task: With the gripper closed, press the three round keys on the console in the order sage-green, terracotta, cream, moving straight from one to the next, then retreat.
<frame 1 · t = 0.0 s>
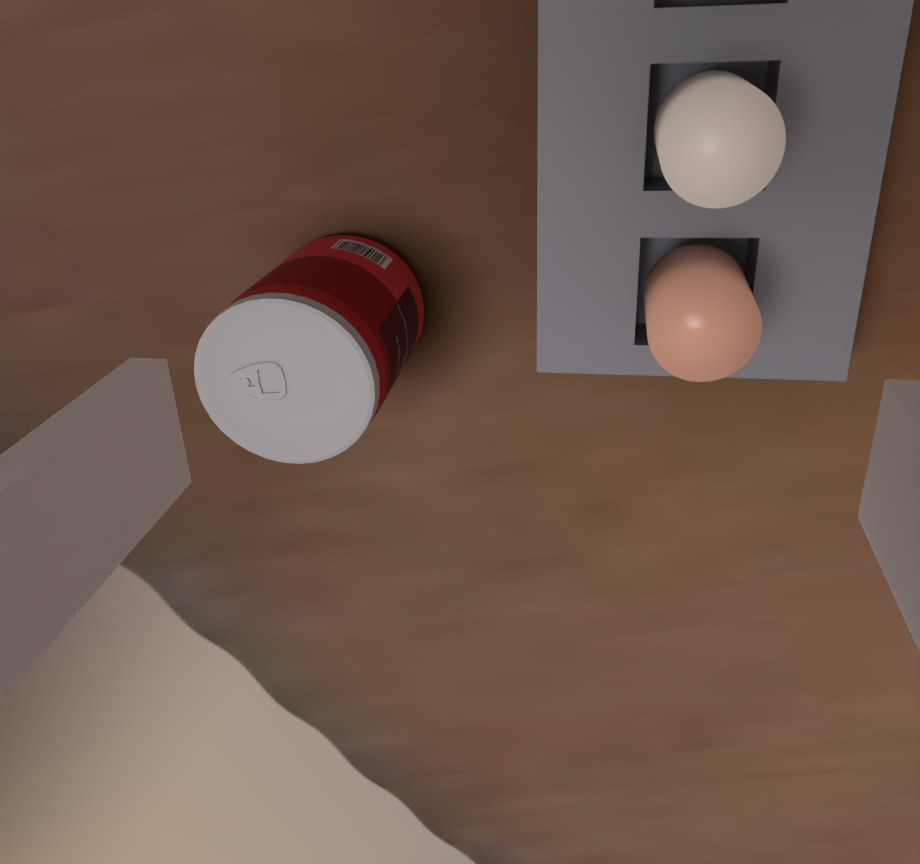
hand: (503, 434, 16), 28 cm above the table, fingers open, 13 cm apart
button terracotta: (698, 310, 36), point 6 cm above the table, slide at 0.0 cm
console: (700, 116, 39), on the table
button cream: (714, 136, 33), point 6 cm above the table, slide at 0.0 cm
canned food: (354, 301, 46), on the table
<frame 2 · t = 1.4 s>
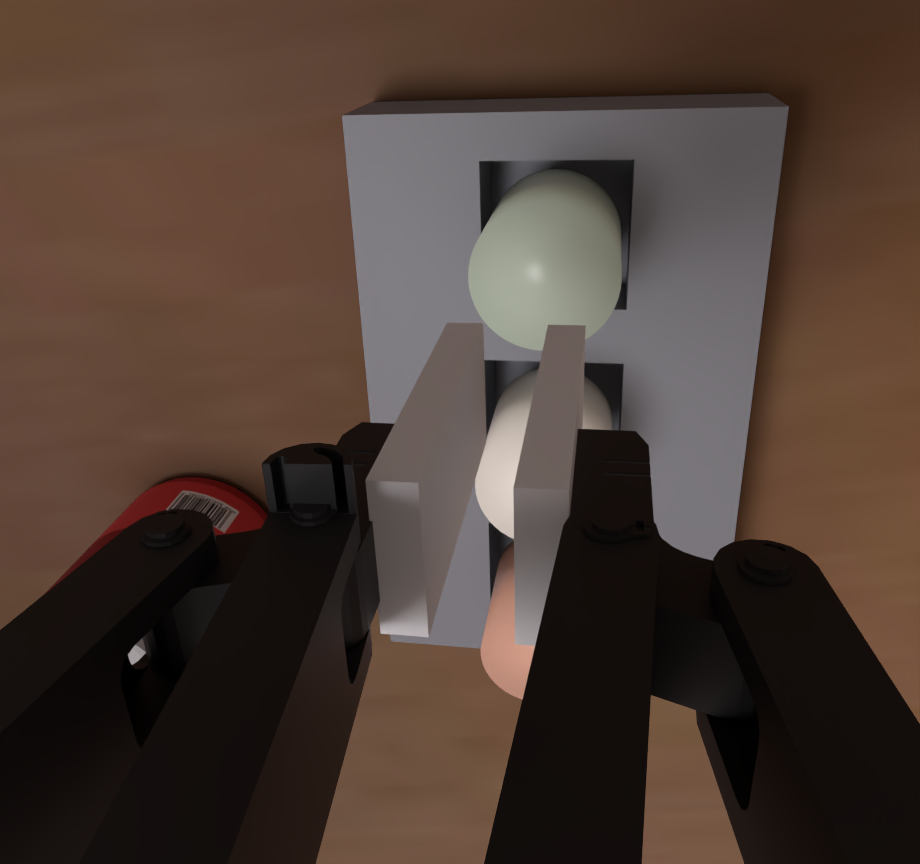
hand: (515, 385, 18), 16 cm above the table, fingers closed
button terracotta: (546, 613, 33), point 6 cm above the table, slide at 0.0 cm
console: (558, 381, 36), on the table
button cream: (547, 453, 30), point 6 cm above the table, slide at 0.0 cm
button sage: (549, 255, 27), point 6 cm above the table, slide at 0.0 cm
canned food: (210, 536, 43), on the table
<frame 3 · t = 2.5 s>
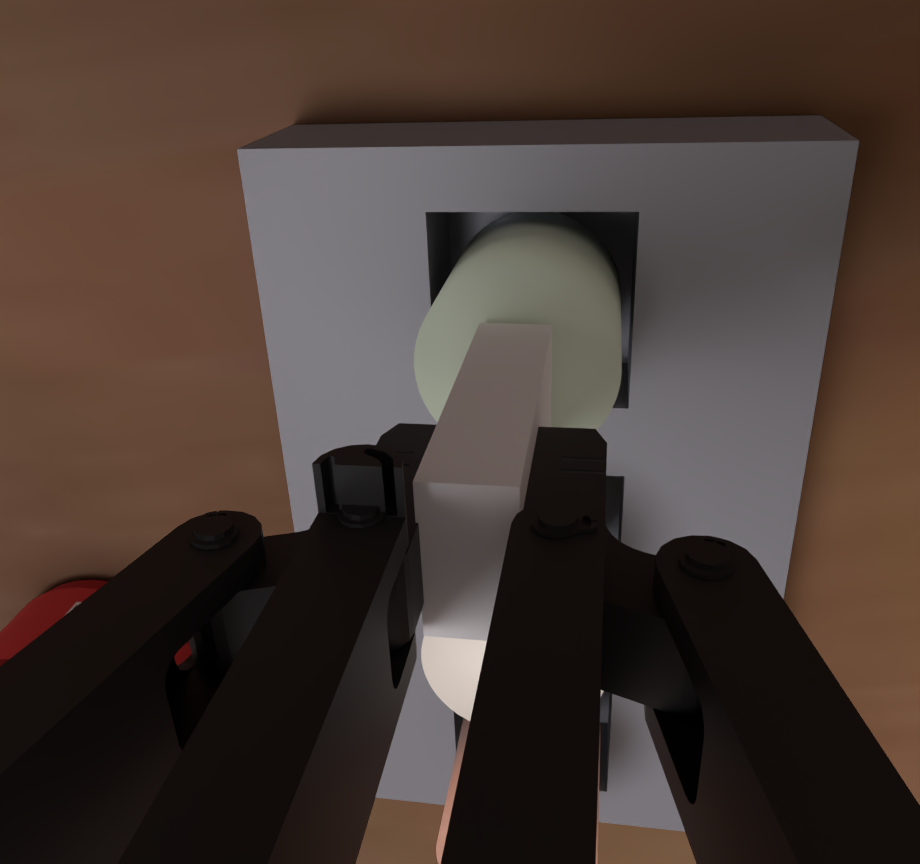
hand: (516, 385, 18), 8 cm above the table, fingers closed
button terracotta: (524, 787, 26), point 6 cm above the table, slide at 0.0 cm
console: (541, 477, 28), on the table
button cream: (523, 599, 22), point 6 cm above the table, slide at 0.0 cm
button sage: (526, 328, 20), point 5 cm above the table, slide at 1.3 cm, touching gripper
canned food: (121, 646, 35), on the table
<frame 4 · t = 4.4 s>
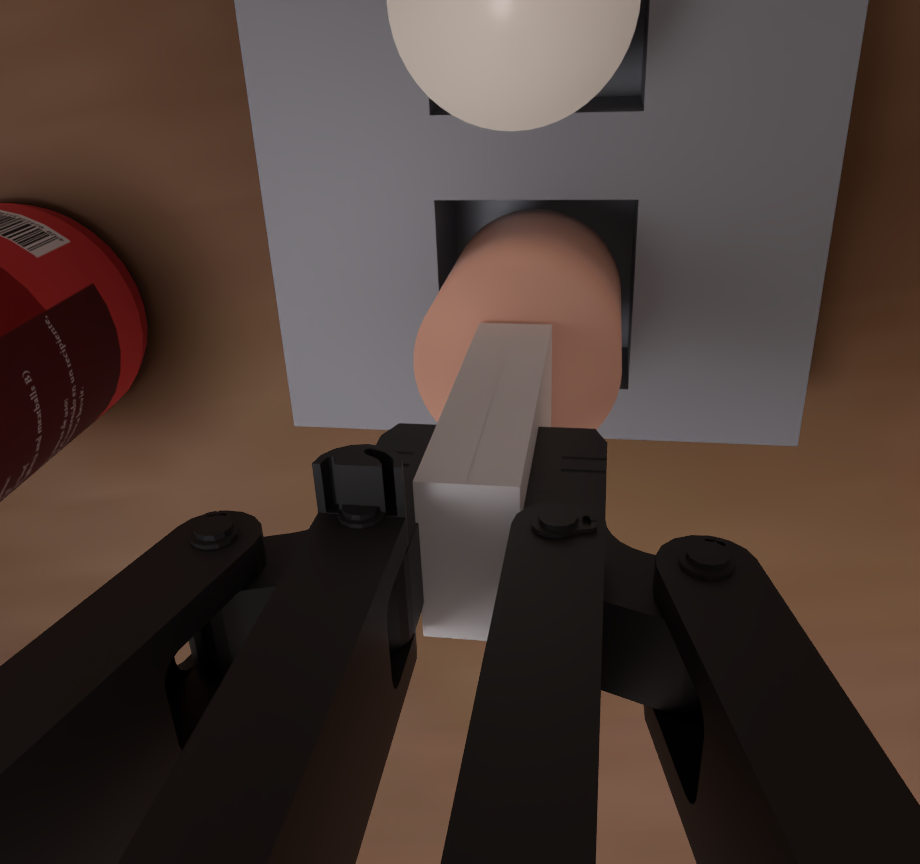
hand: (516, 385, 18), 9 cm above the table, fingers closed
button terracotta: (526, 327, 20), point 6 cm above the table, slide at 0.2 cm, touching gripper
canned food: (48, 306, 30), on the table
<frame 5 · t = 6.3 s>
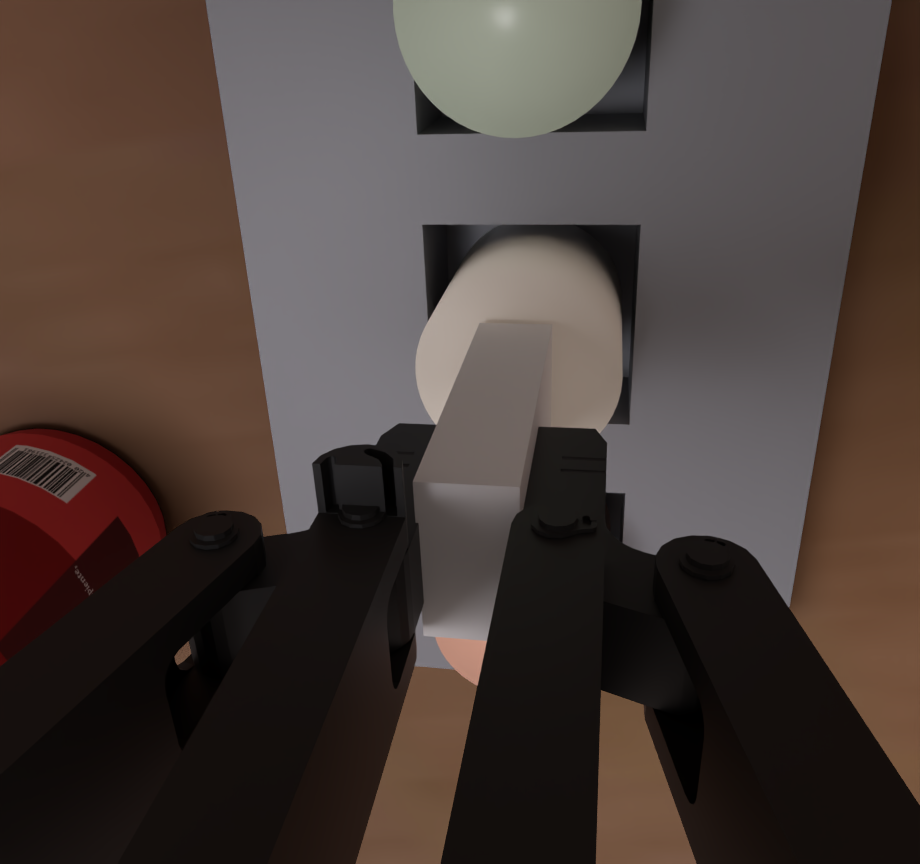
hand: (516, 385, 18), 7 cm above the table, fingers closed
button terracotta: (528, 572, 24), point 4 cm above the table, slide at 2.0 cm
console: (542, 279, 24), on the table
button cream: (527, 334, 20), point 4 cm above the table, slide at 1.9 cm, touching gripper
button sage: (527, 5, 17), point 4 cm above the table, slide at 2.0 cm
canned food: (73, 512, 31), on the table
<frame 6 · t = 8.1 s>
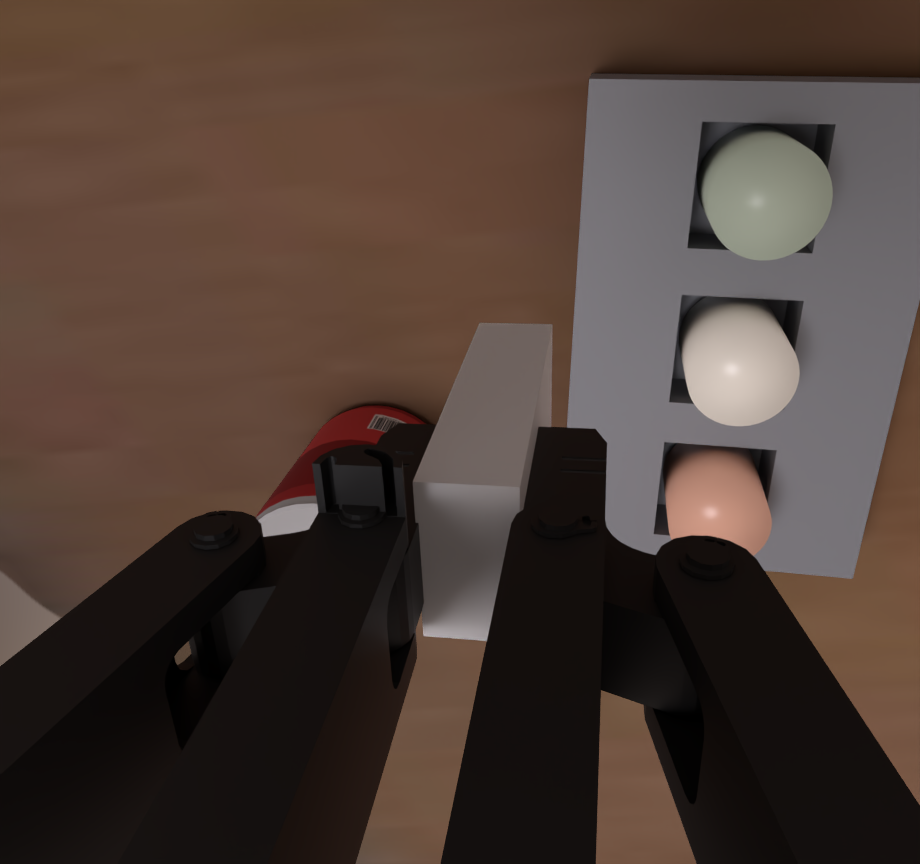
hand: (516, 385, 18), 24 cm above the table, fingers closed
button terracotta: (713, 496, 40), point 4 cm above the table, slide at 2.0 cm
console: (723, 324, 41), on the table
button cream: (734, 355, 37), point 4 cm above the table, slide at 2.0 cm
button sage: (759, 190, 34), point 4 cm above the table, slide at 2.0 cm
canned food: (383, 462, 48), on the table
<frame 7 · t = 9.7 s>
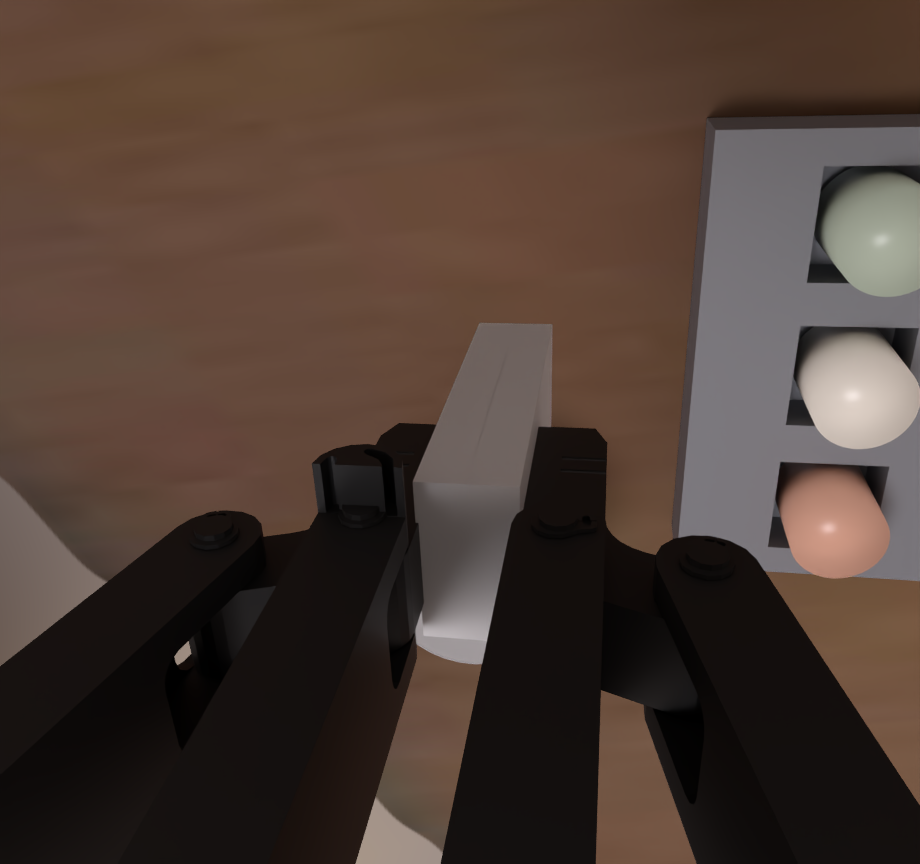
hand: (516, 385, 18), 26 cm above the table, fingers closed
button terracotta: (827, 511, 43), point 4 cm above the table, slide at 2.0 cm
console: (831, 347, 43), on the table
button cream: (851, 381, 39), point 4 cm above the table, slide at 2.0 cm
button sage: (879, 228, 36), point 4 cm above the table, slide at 2.0 cm
canned food: (497, 483, 50), on the table
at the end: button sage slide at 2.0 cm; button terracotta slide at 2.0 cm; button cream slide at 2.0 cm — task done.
